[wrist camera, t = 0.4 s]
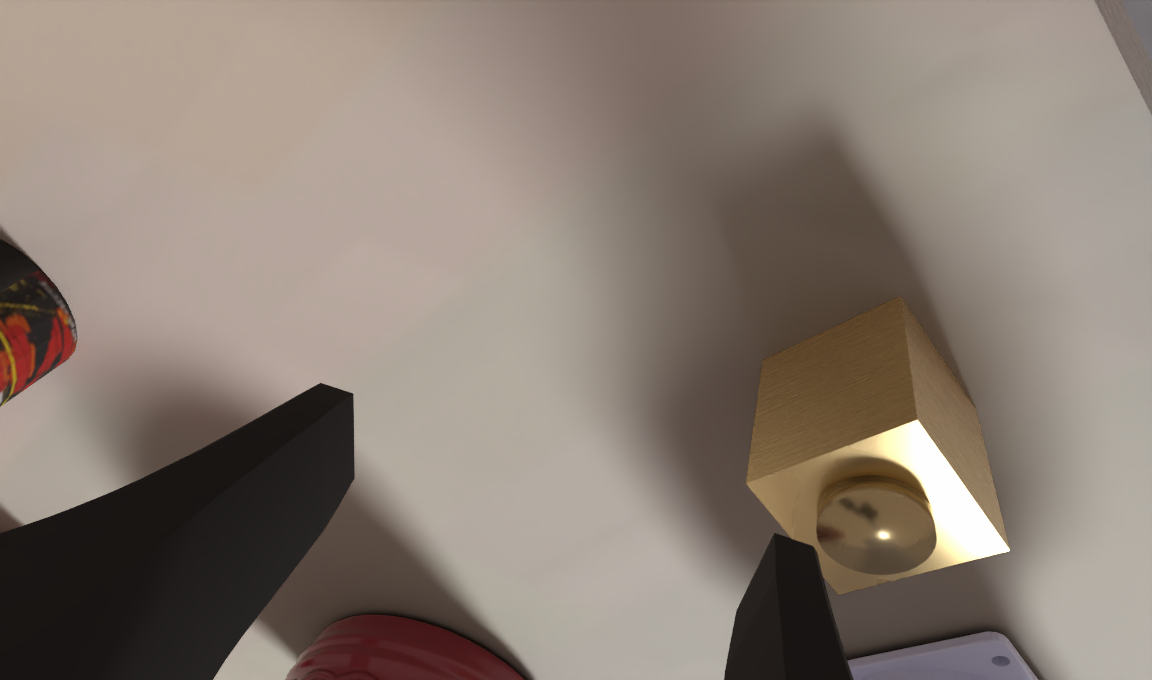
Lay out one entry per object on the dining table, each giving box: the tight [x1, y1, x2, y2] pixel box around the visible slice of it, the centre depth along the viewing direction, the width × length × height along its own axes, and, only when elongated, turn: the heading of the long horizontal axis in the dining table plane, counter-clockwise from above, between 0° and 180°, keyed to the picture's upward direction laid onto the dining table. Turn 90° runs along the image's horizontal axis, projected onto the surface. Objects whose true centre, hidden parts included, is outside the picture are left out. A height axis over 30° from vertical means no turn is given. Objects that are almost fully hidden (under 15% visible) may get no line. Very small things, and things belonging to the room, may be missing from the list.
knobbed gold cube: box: [746, 296, 1010, 595], centre depth 19 cm, size 4×4×6 cm
